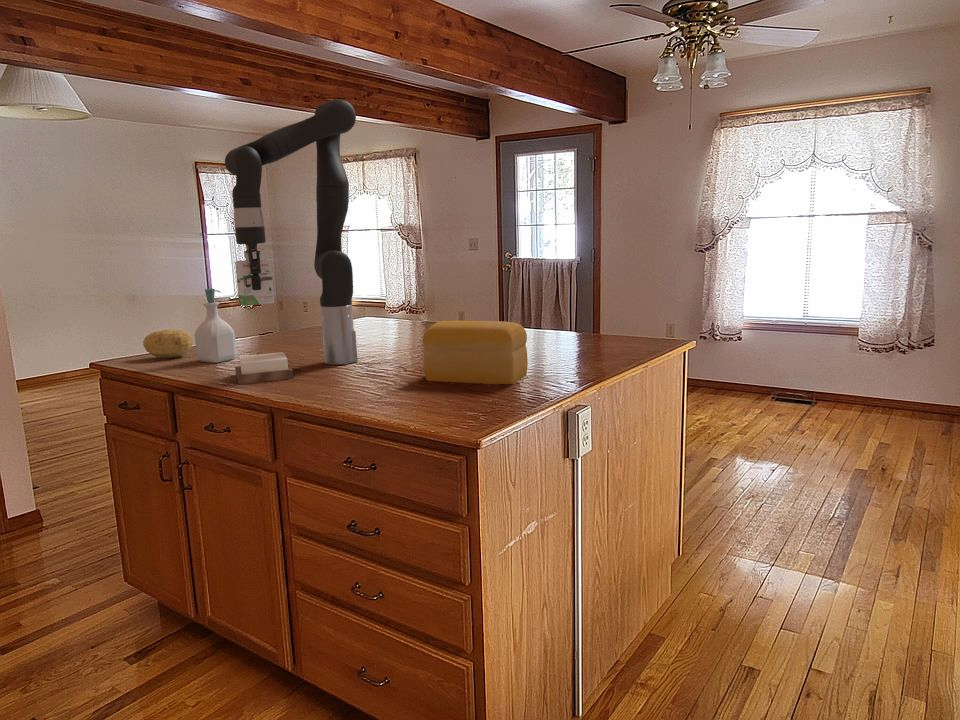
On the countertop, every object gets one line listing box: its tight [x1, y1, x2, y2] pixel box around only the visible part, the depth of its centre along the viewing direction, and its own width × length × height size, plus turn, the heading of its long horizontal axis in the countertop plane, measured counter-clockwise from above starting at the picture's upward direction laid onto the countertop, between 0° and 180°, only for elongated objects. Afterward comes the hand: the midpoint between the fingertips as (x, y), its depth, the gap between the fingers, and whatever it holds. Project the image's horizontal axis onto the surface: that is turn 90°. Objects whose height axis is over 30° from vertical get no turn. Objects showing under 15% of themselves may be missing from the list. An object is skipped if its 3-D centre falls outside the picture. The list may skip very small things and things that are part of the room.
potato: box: [142, 329, 194, 359], centre depth 224 cm, size 10×14×10 cm
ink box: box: [234, 259, 275, 307], centre depth 185 cm, size 9×5×12 cm, turn 123°
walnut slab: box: [234, 364, 294, 385], centre depth 190 cm, size 14×14×3 cm
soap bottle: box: [194, 288, 238, 364], centre depth 215 cm, size 10×10×23 cm
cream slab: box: [239, 352, 289, 374], centre depth 189 cm, size 12×12×3 cm
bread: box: [422, 320, 529, 385], centre depth 178 cm, size 24×13×15 cm, turn 69°
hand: (255, 289), depth 186 cm, fingers closed on ink box, 5 cm apart
